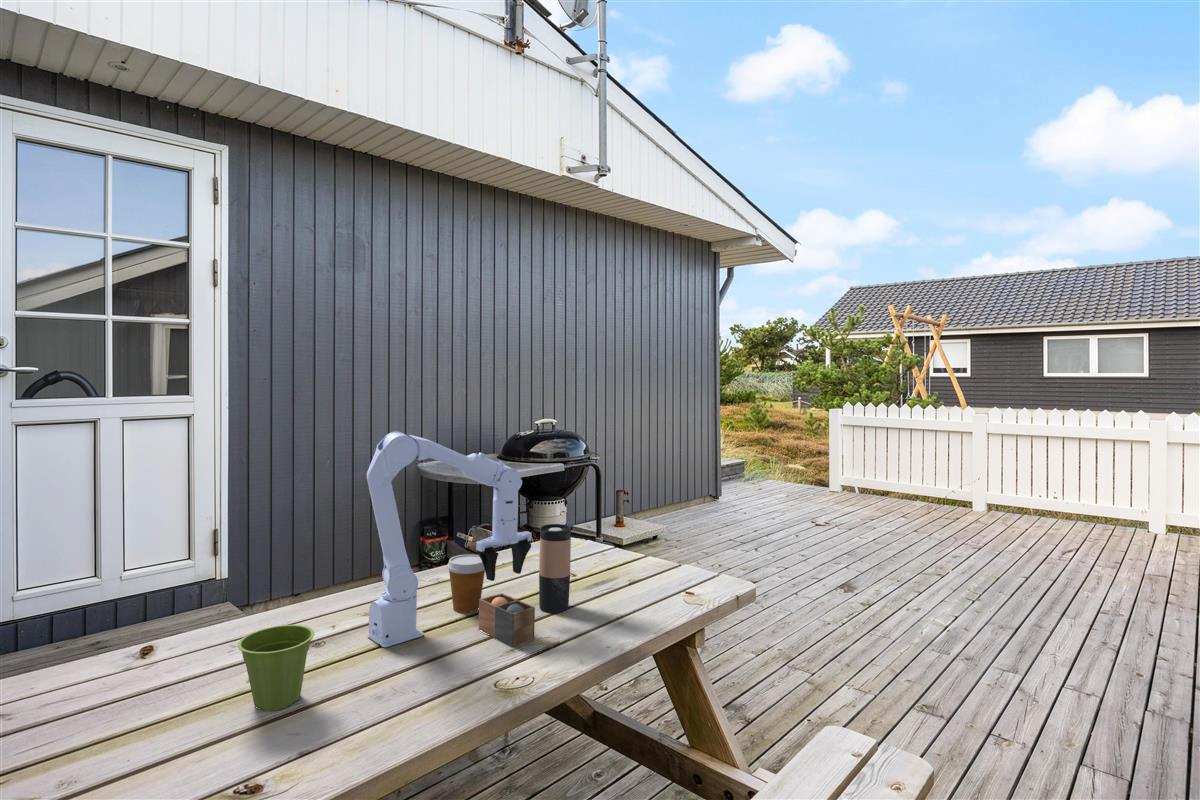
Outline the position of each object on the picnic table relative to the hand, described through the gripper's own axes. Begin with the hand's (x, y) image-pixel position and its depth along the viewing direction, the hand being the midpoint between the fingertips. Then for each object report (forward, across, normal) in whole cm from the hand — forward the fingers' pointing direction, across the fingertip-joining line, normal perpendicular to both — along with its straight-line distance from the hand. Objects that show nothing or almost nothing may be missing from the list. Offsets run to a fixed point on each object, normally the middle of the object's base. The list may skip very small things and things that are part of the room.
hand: (503, 576), depth 150 cm
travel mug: (+11, +14, -2) cm, 18 cm away
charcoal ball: (+6, -5, -9) cm, 12 cm away
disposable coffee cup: (+11, -2, +12) cm, 16 cm away
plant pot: (+11, -51, -3) cm, 52 cm away
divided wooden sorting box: (+10, -4, -7) cm, 13 cm away
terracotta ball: (+6, -5, -3) cm, 8 cm away
